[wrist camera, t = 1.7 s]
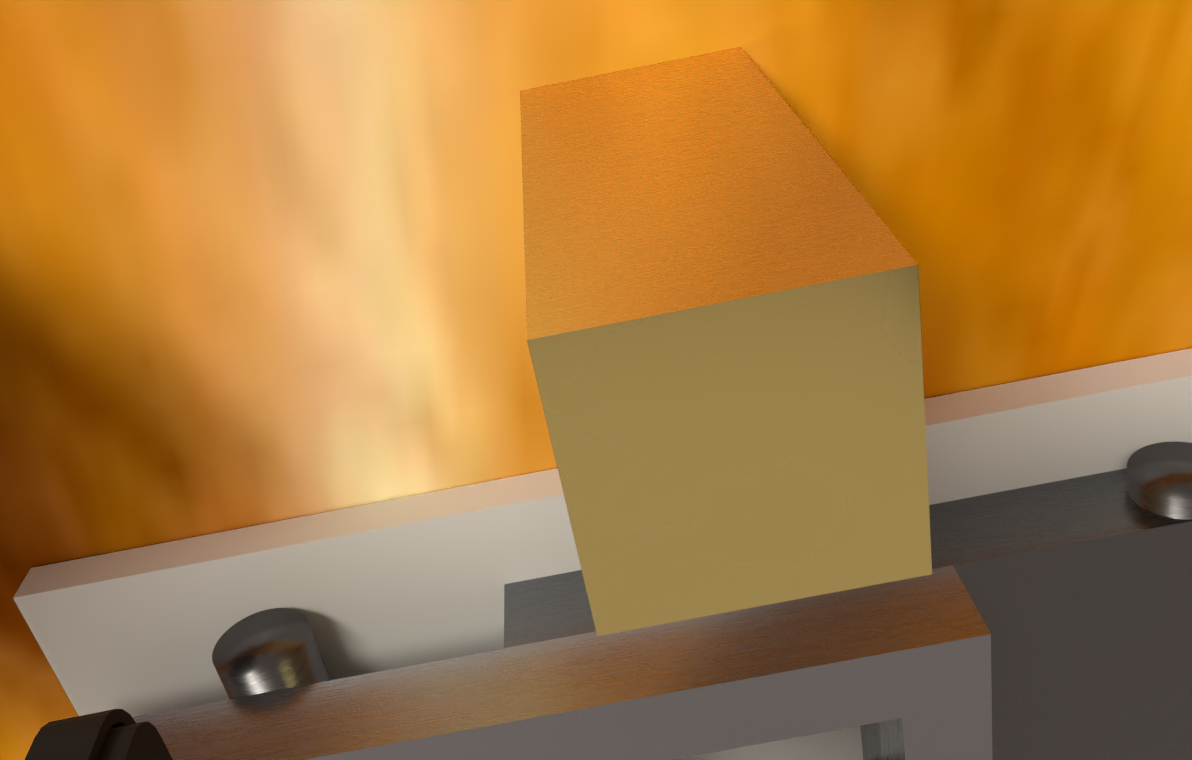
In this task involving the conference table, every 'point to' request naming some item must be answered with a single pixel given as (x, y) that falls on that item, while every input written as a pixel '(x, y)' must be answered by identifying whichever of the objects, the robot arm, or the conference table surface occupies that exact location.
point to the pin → (718, 347)
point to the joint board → (508, 554)
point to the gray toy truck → (788, 656)
